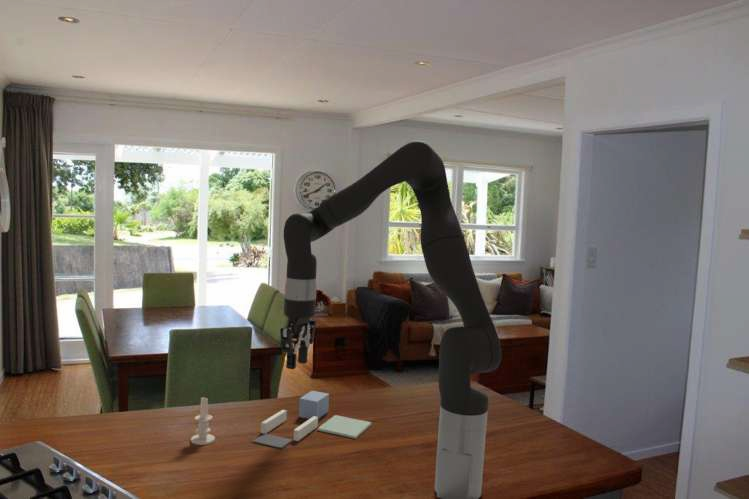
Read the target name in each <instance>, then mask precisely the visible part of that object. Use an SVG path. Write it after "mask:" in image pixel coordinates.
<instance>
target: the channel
mask: <svg viewBox="0 0 749 499" xmlns="http://www.w3.org/2000/svg"><path fill="white" fill-rule="evenodd" d="M287 416H288V410H286V409H282V410H280V411H278V412H277V413H274V414H273V415H272V416H270V417H269V418H267V419H265V420H264V421H262V422H261V424H260V425H261V426H260V433H261V435H260V436H258V437H256V438H255V439H254V440H252V443H255V444H260V445H263V446H266V447H267V446H268V447H272V448H275V449H281V450H282V449H284V448H285V447H286V446H288V445H289V444H290V443H291V442H293V441H295V442H299V441H301V440H302V439H303V438H304V437H306V436H308V435H309V434H310V433H312V432H313V431H314V430H316V429H318V428H319V427H318V425H319V423H318V422H319V419H318V417H316V416H313V417H312V418H310V419H307V420H306V421H304V422H303V423H302V424H300V425H299V426H297V427H296V428H295V429H293V439H290V438H286V437H281V436H277V435H273V434H269V432H271V431H272V430H273V429H275V428H277V427H279V425H282V424H283V423H285V422H286V421H287V419H288V417H287ZM308 433H309V434H308Z"/></svg>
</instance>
